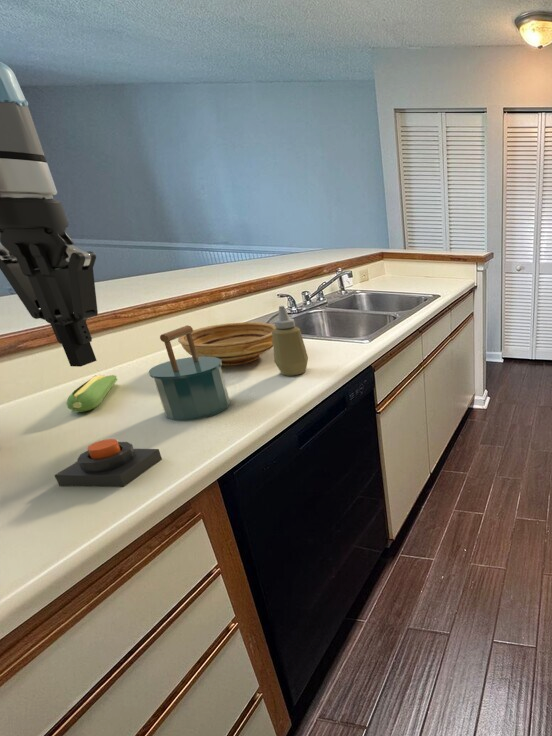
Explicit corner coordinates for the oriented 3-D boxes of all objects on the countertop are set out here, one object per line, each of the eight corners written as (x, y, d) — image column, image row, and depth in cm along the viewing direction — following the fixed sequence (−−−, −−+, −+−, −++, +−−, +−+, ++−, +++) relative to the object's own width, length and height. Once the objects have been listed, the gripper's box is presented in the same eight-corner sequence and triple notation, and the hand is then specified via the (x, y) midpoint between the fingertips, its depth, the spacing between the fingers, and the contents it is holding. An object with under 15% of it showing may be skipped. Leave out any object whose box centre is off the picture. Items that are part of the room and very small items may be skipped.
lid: (134, 381, 83) (118, 337, 79) (179, 361, 94) (167, 321, 91) (197, 382, 83) (185, 338, 80) (235, 362, 94) (225, 322, 91)
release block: (59, 486, 66) (49, 465, 65) (104, 459, 74) (96, 439, 72) (124, 487, 66) (115, 466, 65) (162, 459, 74) (155, 439, 72)
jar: (152, 420, 87) (137, 378, 83) (190, 398, 97) (179, 359, 94) (208, 421, 87) (196, 379, 83) (240, 398, 97) (231, 360, 94)
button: (84, 459, 67) (80, 450, 66) (104, 447, 70) (100, 438, 69) (107, 459, 67) (103, 450, 66) (126, 448, 70) (123, 438, 70)
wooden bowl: (307, 356, 126) (303, 330, 123) (224, 382, 106) (216, 352, 103) (247, 341, 139) (241, 317, 135) (162, 361, 119) (153, 334, 116)
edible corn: (64, 419, 87) (56, 398, 85) (99, 384, 103) (92, 367, 101) (97, 414, 89) (89, 394, 87) (126, 381, 105) (120, 364, 103)
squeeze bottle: (316, 371, 115) (305, 305, 108) (288, 380, 108) (275, 311, 101) (299, 365, 119) (287, 301, 112) (270, 373, 112) (256, 306, 105)
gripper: (95, 198, 59) (146, 356, 69) (1, 195, 59) (65, 354, 68) (40, 197, 53) (104, 373, 62) (-66, 194, 52) (14, 371, 61)
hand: (83, 363), depth 65 cm, fingers closed
